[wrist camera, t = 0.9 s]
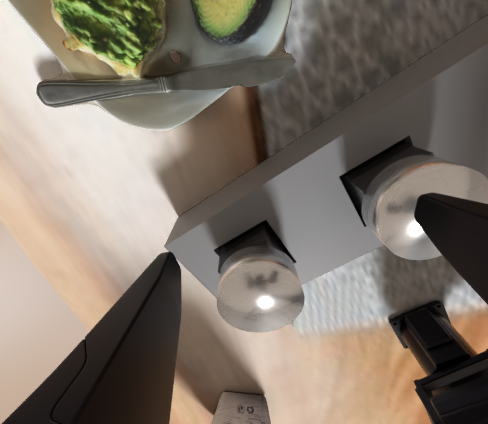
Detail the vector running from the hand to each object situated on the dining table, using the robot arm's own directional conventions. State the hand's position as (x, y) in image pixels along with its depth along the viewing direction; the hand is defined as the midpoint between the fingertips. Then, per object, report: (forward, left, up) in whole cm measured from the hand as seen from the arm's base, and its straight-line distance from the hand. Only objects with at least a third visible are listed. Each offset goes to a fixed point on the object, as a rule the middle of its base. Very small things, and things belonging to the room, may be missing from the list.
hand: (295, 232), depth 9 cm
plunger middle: (-6, -6, -11) cm, 14 cm away
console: (-6, -6, -14) cm, 16 cm away
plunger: (-6, +5, -11) cm, 13 cm away
